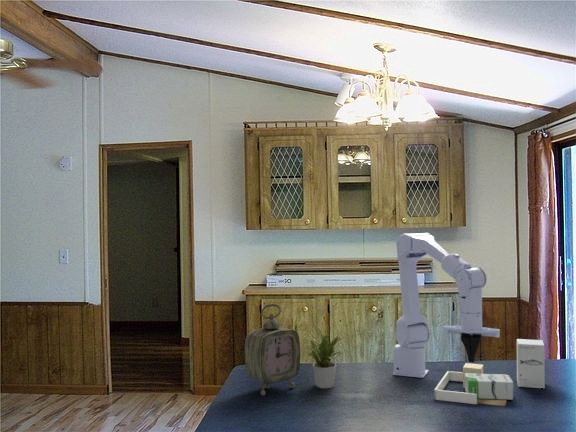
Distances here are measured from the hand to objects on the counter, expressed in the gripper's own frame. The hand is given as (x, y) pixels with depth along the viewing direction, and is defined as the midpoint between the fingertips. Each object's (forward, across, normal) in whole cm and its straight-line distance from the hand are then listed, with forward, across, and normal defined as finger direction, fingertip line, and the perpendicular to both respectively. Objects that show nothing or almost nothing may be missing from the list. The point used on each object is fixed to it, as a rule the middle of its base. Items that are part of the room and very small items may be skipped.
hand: (471, 361), depth 167 cm
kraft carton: (+10, -1, +10) cm, 14 cm away
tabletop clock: (+10, -54, -15) cm, 57 cm away
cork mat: (+10, +4, 0) cm, 10 cm away
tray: (+10, -4, +4) cm, 11 cm away
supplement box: (+10, +14, +17) cm, 24 cm away
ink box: (+7, -2, 0) cm, 7 cm away
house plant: (+10, -40, -6) cm, 42 cm away
